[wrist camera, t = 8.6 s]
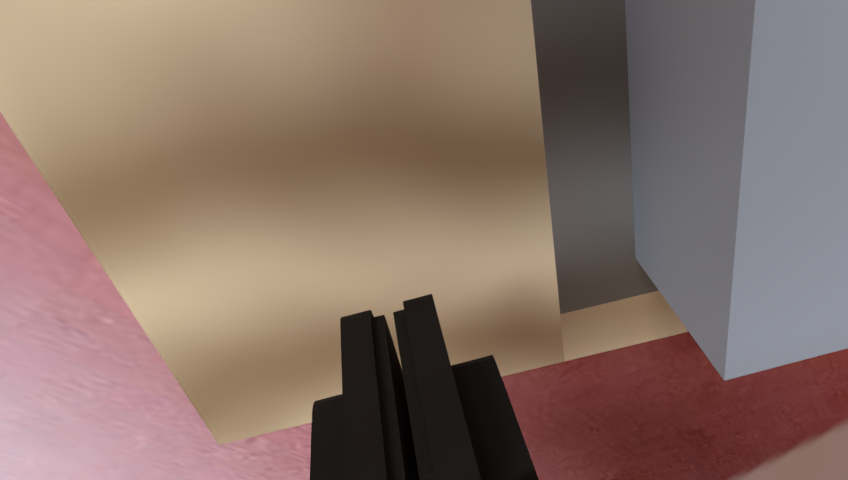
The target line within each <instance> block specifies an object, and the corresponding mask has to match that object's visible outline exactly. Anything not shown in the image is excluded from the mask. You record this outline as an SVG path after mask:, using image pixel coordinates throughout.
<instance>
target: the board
mask: <svg viewBox="0 0 848 480" xmlns="http://www.w3.org/2000/svg"><path fill="white" fill-rule="evenodd" d="M0 112H1V114H2V115H3V117H4V118H5V120H6V121H7V123H8V124H9V126H10V127H11V129H12V130H13V132H14V133H15V135H16V136H17V138H18V139H19V141H20V143H21V144H22V146H23V147H24V149H25V150H26V152H27V153H28V155H29V156H30V158H31V159H32V161H33V162H34V164H35V165H36V167H37V168H38V170H39V171H40V173H41V174H42V176H43V178H44V179H45V181H46V182H47V184H48V185H49V187H50V188H51V190H52V191H53V193H54V194H55V196H56V197H57V199H58V200H59V202H60V203H61V205H62V206H63V208H64V209H65V211H66V213H67V214H68V216H69V217H70V219H71V220H72V222H73V223H74V225H75V226H76V228H77V229H78V231H79V232H80V234H81V235H82V237H83V238H84V240H85V241H86V243H87V244H88V246H89V248H90V249H91V251H92V252H93V254H94V255H95V257H96V258H97V260H98V261H99V263H100V264H101V266H102V267H103V269H104V270H105V272H106V273H107V275H108V276H109V278H110V280H111V281H112V283H113V284H114V286H115V287H116V289H117V290H118V292H119V293H120V295H121V296H122V298H123V299H124V301H125V302H126V304H127V305H128V307H129V308H130V310H131V311H132V313H133V315H134V316H135V318H136V319H137V321H138V322H139V324H140V325H141V327H142V328H143V330H144V331H145V333H146V334H147V336H148V337H149V339H150V340H151V342H152V343H153V345H154V346H155V348H156V350H157V351H158V353H159V354H160V356H161V357H162V359H163V360H164V362H165V363H166V365H167V366H168V368H169V369H170V371H171V372H172V374H173V375H174V377H175V378H176V380H177V381H178V383H179V385H180V386H181V388H182V389H183V391H184V392H185V394H186V395H187V397H188V398H189V400H190V401H191V403H192V404H193V406H194V407H195V409H196V410H197V412H198V413H199V415H200V416H201V418H202V420H203V421H204V423H205V424H206V426H207V427H208V429H209V430H210V432H211V433H212V435H213V436H214V438H215V439H216V441H217V442H218V444H219V445H220V444H224V443H228V442H232V441H236V440H240V439H245V438H249V437H253V436H257V435H261V434H265V433H270V432H274V431H278V430H282V429H286V428H290V427H294V426H299V425H303V424H307V423H311V422H312V409H313V404H314V402H315V401H317V400H321V399H325V398H329V397H332V396H336V395H340V394H342V364H341V331H340V319H341V317H344V316H348V315H352V314H356V313H360V312H364V311H367V310H371V311H372V313H373V316H374V317H377V316H380V315H385V318H386V321H387V324H388V327H389V330H390V333H391V337H392V340H393V343H394V346H395V349H396V352H397V356H398V359H399V362H400V365H401V360H400V353H399V347H398V341H397V334H396V328H395V322H394V315H393V312H396V311H400V310H404V306H403V301H406V300H410V299H414V298H418V297H421V296H425V295H429V294H432V296H433V300H434V303H435V307H436V311H437V315H438V318H439V322H440V326H441V330H442V334H443V337H444V341H445V345H446V349H447V353H448V356H449V360H450V364H451V365H455V364H459V363H463V362H467V361H470V360H474V359H478V358H482V357H486V356H490V355H493V357H494V359H495V361H496V364H497V367H498V369H499V372H500V375H501V377H502V376H506V375H510V374H515V373H519V372H523V371H527V370H531V369H535V368H540V367H544V366H548V365H552V364H556V363H560V362H564V361H569V360H573V359H577V358H581V357H585V356H589V355H594V354H598V353H602V352H606V351H610V350H614V349H618V348H623V347H627V346H631V345H635V344H639V343H643V342H648V341H652V340H656V339H660V338H664V337H668V336H672V335H677V334H681V333H685V332H689V331H688V330H687V329H686V327H685V326H684V325H683V323H682V322H681V320H680V319H679V318H678V316H677V315H676V313H675V312H674V311H673V309H672V308H671V307H670V305H669V304H668V302H667V301H666V300H665V298H664V297H663V296H662V294H661V293H660V291H659V290H658V289H657V287H656V286H655V284H654V283H653V282H652V280H651V279H650V278H649V276H648V275H647V273H646V272H645V271H644V269H643V268H642V267H641V265H640V264H639V262H638V261H637V260H636V258H635V234H634V209H633V185H632V160H631V136H630V111H629V86H628V62H627V37H626V13H625V0H0ZM401 368H402V366H401Z"/></svg>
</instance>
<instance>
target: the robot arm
mask: <svg viewBox="0 0 848 480" xmlns="http://www.w3.org/2000/svg"><path fill="white" fill-rule="evenodd" d="M403 306H404V310H400V311H396V312H393V315H394V322H395V328H396V334H397V341H398V347H399V353H400V360H401V365H400V362H399V359H398V356H397V352H396V349H395V346H394V343H393V340H392V337H391V333H390V330H389V327H388V324H387V321H386V318H385V315H380V316H377V317H374V316H373V313H372V311H371V310H367V311H364V312H360V313H356V314H352V315H348V316H344V317H341V319H340V331H341V364H342V394H340V395H336V396H332V397H329V398H325V399H321V400H317V401H315V402H314V404H313V409H312V432H311V466H310V480H538V477H537V474H536V471H535V469H534V466H533V463H532V460H531V458H530V455H529V452H528V449H527V446H526V444H525V441H524V438H523V435H522V433H521V430H520V427H519V424H518V422H517V419H516V416H515V413H514V411H513V408H512V405H511V402H510V400H509V397H508V394H507V391H506V389H505V386H504V383H503V380H502V378H501V375H500V372H499V369H498V367H497V364H496V361H495V359H494V357H493V355H490V356H486V357H482V358H478V359H474V360H470V361H467V362H463V363H459V364H455V365H451V364H450V360H449V356H448V353H447V349H446V345H445V341H444V337H443V334H442V330H441V326H440V322H439V318H438V315H437V311H436V307H435V303H434V300H433V296H432V294H429V295H425V296H421V297H418V298H414V299H410V300H406V301H403ZM401 366H402V368H401Z"/></svg>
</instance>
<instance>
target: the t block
mask: <svg viewBox="0 0 848 480" xmlns="http://www.w3.org/2000/svg"><path fill="white" fill-rule="evenodd" d="M625 13H626V37H627V62H628V86H629V111H630V136H631V160H632V185H633V209H634V234H635V258H636V260H637V261H638V262H639V264H640V265H641V267H642V268H643V269H644V271H645V272H646V273H647V275H648V276H649V278H650V279H651V280H652V282H653V283H654V284H655V286H656V287H657V289H658V290H659V291H660V293H661V294H662V296H663V297H664V298H665V300H666V301H667V302H668V304H669V305H670V307H671V308H672V309H673V311H674V312H675V313H676V315H677V316H678V318H679V319H680V320H681V322H682V323H683V325H684V326H685V327H686V329H687V330H688V331H689V333H690V334H691V336H692V337H693V338H694V340H695V341H696V342H697V344H698V345H699V347H700V348H701V349H702V351H703V352H704V354H705V355H706V356H707V358H708V359H709V360H710V362H711V363H712V365H713V366H714V367H715V369H716V370H717V371H718V373H719V374H720V376H721V377H722V378H723V380H724V381H725V380H729V379H733V378H737V377H740V376H744V375H748V374H752V373H756V372H759V371H763V370H767V369H771V368H775V367H778V366H782V365H786V364H790V363H793V362H797V361H801V360H805V359H809V358H812V357H816V356H820V355H824V354H828V353H831V352H835V351H839V350H843V349H847V348H848V0H625Z"/></svg>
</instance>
